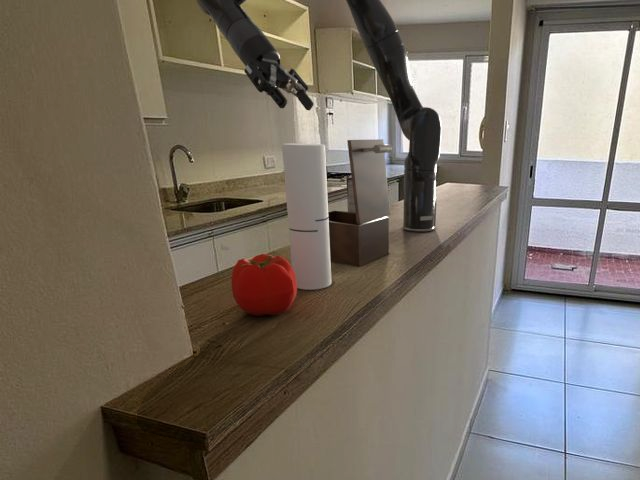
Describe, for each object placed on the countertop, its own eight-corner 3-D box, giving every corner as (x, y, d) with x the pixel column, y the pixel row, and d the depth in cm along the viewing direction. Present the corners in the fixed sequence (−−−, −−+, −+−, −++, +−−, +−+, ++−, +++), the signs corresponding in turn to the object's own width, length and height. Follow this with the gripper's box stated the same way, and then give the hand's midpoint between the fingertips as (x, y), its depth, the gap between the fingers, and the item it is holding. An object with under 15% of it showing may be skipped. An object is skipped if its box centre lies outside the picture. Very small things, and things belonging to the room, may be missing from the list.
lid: (347, 140, 88) (368, 138, 86) (380, 139, 98) (400, 137, 96) (356, 223, 93) (377, 224, 91) (387, 215, 104) (406, 214, 102)
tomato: (258, 295, 79) (252, 247, 75) (313, 304, 76) (309, 254, 72) (215, 317, 69) (206, 264, 66) (276, 328, 66) (270, 273, 63)
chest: (302, 255, 103) (300, 217, 100) (335, 244, 114) (334, 209, 110) (359, 266, 97) (358, 226, 93) (388, 253, 107) (388, 216, 104)
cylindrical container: (339, 283, 86) (333, 145, 76) (307, 292, 81) (297, 145, 71) (317, 275, 90) (309, 143, 81) (286, 282, 85) (273, 143, 76)
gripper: (235, 27, 90) (283, 90, 90) (284, 39, 102) (327, 95, 102) (220, 58, 94) (266, 118, 94) (269, 66, 106) (310, 120, 106)
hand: (298, 106), depth 98 cm, fingers open, 8 cm apart
